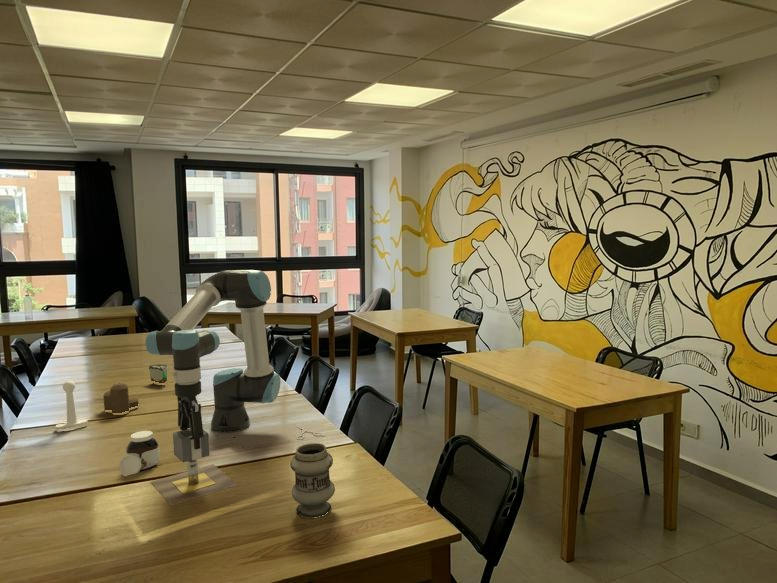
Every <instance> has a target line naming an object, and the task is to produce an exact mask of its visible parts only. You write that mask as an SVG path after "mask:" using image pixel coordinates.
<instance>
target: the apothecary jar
mask: <svg viewBox="0 0 777 583" xmlns="http://www.w3.org/2000/svg"><path fill="white" fill-rule="evenodd" d="M333 462H334V460H333V455H331V453H329V452H328V450H327V447H326V445H324V444H323V443H318V442H317V443H316V442H314V443H313V442H311V443H305V444H302V445H299V446H298V447H297V448H296V450H295V454H294V456H293V457H292V458H291V460H290V463H289V464H290V465H289V466H290V468H291V470H292V471H293V472H294V478H295V483H294V484H293V486H292V487H291V497H292V498H293V500H294V501H295V502H296V503H298V505H297V507H296V509H295V512H296V514H297V513H298V515H300V517H301V516H302V517H301V518H303V517H306V518H305V519H309V518H313V519H315V518H314V517H319V516H322V515H325V514H326V513H327V512H329V511H330V509H331V510H332V504H331V503H330V502H328V501H329V500H331V498H332V497H333V496H334V494H335V491H336V488H335V484H334V482H332V480H331V478H330V469H331V467H332V466H333V464H334V463H333ZM330 512H331V511H330ZM330 512H329V513H330ZM325 516H326V515H325Z"/></svg>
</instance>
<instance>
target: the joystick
mask: <svg viewBox="0 0 777 583" xmlns="http://www.w3.org/2000/svg"><path fill="white" fill-rule="evenodd" d="M75 388H76V383H75V382H74V381H73V380H66V381H64V383H63V384H62V390H63V391H64V392H65V394H66V398H65V399H66V403H65V404H66V421H65V422H64V423H60V424H55V430H56V429H57V430H58V429H66V428H71V427H76V426H80V425H84V424H88V425H89V421H88V419H85V418H84V419H80V420H78V419H77V413H76V405H75V400H74V399H75V398H74V393H73V392H74V390H75ZM57 430H56V431H57Z"/></svg>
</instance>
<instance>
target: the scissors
mask: <svg viewBox="0 0 777 583" xmlns="http://www.w3.org/2000/svg"><path fill="white" fill-rule="evenodd" d="M302 429H303V428H302ZM303 430H305V431H303ZM303 430H301V433H300V435H298V436H296V440H297V439H298V441H301V439H302V440H304V439H305V436H304V435H303V434H305V433H309V432H312V433H311V434H312V435H314V437H323V436H324V438H325V436H326V435H323V433H322V432H319V433H320V434H315V433H316V432H314V431H309V430H307V429H306V428H305V429H303ZM304 432H305V433H304ZM320 435H321V436H320ZM300 436H302V437H300Z"/></svg>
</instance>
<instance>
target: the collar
mask: <svg viewBox="0 0 777 583" xmlns="http://www.w3.org/2000/svg"><path fill="white" fill-rule="evenodd" d="M203 434H204V436H203V437H201V454H202V458H206V457H209V456H210V455H211V454H210V438H209V433H208V431H206V430H204V429H203ZM172 437H173V438H172V440H173V455H174V456H175V457H176V458H177V459H178V460H180V462H182V463H187V462H188V461H191V460H192V453H191V440H190V438H191V437H192V435H191V430H190V428H188V429H186V430H179V431H174V432H172Z"/></svg>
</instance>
